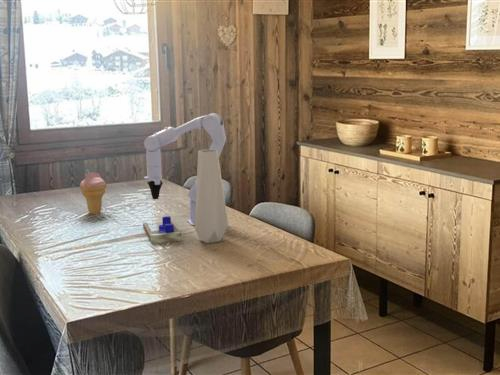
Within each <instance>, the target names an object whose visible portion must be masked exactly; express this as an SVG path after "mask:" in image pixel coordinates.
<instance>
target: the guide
mask: <svg viewBox="0 0 500 375" xmlns="http://www.w3.org/2000/svg"><path fill="white" fill-rule="evenodd" d="M171 224H173V226H174V232H171V233H161V234H160V233H153V231H152V229H151V228H150V226H149V224H148V222H142V228H143V230H144V232H145V234H146V236H147V238H148V239H149V241H150V244H162V243H171V242H172V243H174V242H180V241H182V240H183V239H182V238H183V236H182V232H181V231H179V230H178V228H177V227H176V226H175V224H174V223H173V221H172V220H171Z"/></svg>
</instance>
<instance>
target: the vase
mask: <svg viewBox="0 0 500 375" xmlns="http://www.w3.org/2000/svg"><path fill="white" fill-rule="evenodd" d="M219 158H220V157H219ZM219 158H218V151H217V150H216V149H210V148H204V149H200V150H198V152H197V168H196V169H197V171H196V172H197V173H196V180H197V190H196V213H195V225H194V230H195V232H196V234H197V237H198V238H199V241H201V242H203V243H206V244H211V243H219V242H221V241H222V238H223V237H224V234H225V232H226V231H227V229H228V227H229V221H228V213H227V207H226V200H225V193H224V186H223V185H224V184H223V180H222V174H221V173H222V172H221V171H222V170H221V165H220V159H219Z"/></svg>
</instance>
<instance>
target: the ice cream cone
mask: <svg viewBox="0 0 500 375" xmlns="http://www.w3.org/2000/svg"><path fill="white" fill-rule="evenodd" d="M85 170H86V172H87V173H84V176H85V178H83V180H82V181H81V182H80V184H79V189H80V190H81V195H82V196H83V198H85V200H86V205H87V206H86V207H87V211H88V213H89V214H90V215H99V214H101V212H102V204H103V203H102V202H103V197H104V195H105V193H106V188H107V183H106V181H105V180H104V179H103V178H102V177H101V174H99V173H98V172H96V171H94V172H90V171H89V169H88V167H87V166H86V165H85Z"/></svg>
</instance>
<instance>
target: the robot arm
mask: <svg viewBox="0 0 500 375" xmlns="http://www.w3.org/2000/svg"><path fill="white" fill-rule="evenodd" d="M195 129H197V130H203V129H204V131H205V132H207V134H208V135H209V137H210V139H211V140H212V142H211V144H210V146H209V149H216V150H217V151H218V158H220V157H221V154H222V151H223V149H224V146H225V144H226V142H227V136H226V129H225V122H224V120H223V118H222V116H221V115H220V114H219V113H215V112H211V113H209V114H205V115H201V116H198V117H196V118H194V119H192V120H190V121H187V122H186V123H183V124H181V125H179V126H177V127H174V126H165V127H164V129H162V130H161V131H158V132H157V131H155V132H154V133H153V134H152V135H149V136H147V137H146V138H145V139H144V141H143V146H144V148H145V150H146V152H145V153H146V154H145V155H146V156H145V157H146V158H145V159H146V160H145V161H146V176H143V177H144V178H143V179H144V180H148V181H146V183H147V185H148V187H149V189H150V190H149V191H150V194H151V198H152V200H159V198H160V191H161V188H162V185H163V182H162V179H163V175H162V152H161V148H162V147H165V146H167V145H169V144H171V143H173V142H175V141H176V142H177V140H178V139H179V136H181V135H184V134H186V133H188V132H190V131H192V130H195ZM196 190H197V179H196V180H195V183H194V184H193V186H192V187H191V188H190V189H189V190H188V198H189V218H190V219H187V221H188V222H189V224H190V225H191V226H195V213H196Z"/></svg>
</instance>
